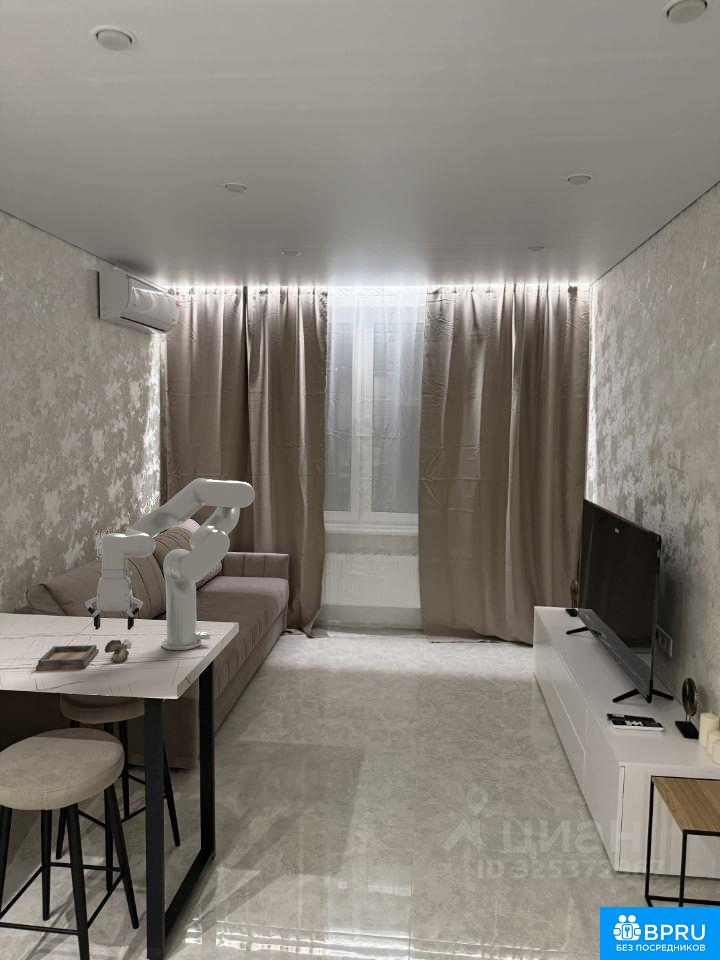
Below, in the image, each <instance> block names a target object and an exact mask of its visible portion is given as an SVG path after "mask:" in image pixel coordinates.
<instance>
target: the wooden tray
mask: <svg viewBox="0 0 720 960" xmlns="http://www.w3.org/2000/svg"><path fill="white" fill-rule="evenodd" d="M99 652H100V651H99V648H97V644H88V645H87V644H85V645H84V644H82V645H53V646H52V647H51V648H50V649H49V650H48V651H47V652H46V653H45V654H44V655H43V656H41V658H39V659H38V660H37V665H36V666H35V671H58V670H60V671H62V670H86V669H87V668H88V666H89V665H90V664H91V663H92V661H94V659H95V658H96V657H97V656H98V654H99ZM90 662H91V663H90Z"/></svg>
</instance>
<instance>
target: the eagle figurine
mask: <svg viewBox="0 0 720 960" xmlns="http://www.w3.org/2000/svg"><path fill="white" fill-rule="evenodd" d="M131 648H132V641H131V640H130V639H124V640H123V642H122V641H121V639H111V640H110V641H109V642H107V644H106V645H105V647H104V652H105V654H107V653H108V654H109V653H112V654H111V658H110V660H112V659H113V660H112V661H111V663H112V664H113V663H114V665H119V664H122V663H124V662H126V661H127V659H128V657H129V655H130V652H129V651H128V649H131Z"/></svg>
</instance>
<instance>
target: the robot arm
mask: <svg viewBox="0 0 720 960" xmlns="http://www.w3.org/2000/svg"><path fill="white" fill-rule="evenodd" d="M255 497H256V492H255V489H254V487H253V486H252V485H251V484H250V483H247V482H246V481H239V480H217V479H209V478H202V477H200V478H199V477H198V478H195V479H194V480H191V482H190V483H188V484H187V485H186V486H184V488H182V489H181V490H180V491H179V492H178V493H176V494H175V495H174V496H173V497H172V498H171V499H169V500H168V501H166V503H164V504H163V505H161V506H159V507H157V508H155V509H154V510H152V511H151V512H149V513H147V514H145V515H144V516H143V517H141V518H140V519H138V520H137V521H136V522H135V523H134V524H133V525H131V526H130V527H129V528H127V530H125V532H124V533H119V532H118V533H117V532H114V533H113V532H112V533H106V534H104V535H103V536H102V538H101V576H100V577H99V580H98V583H97V591H96V596H95V597H92V598H90V599H88V600H86V601H85V602H84V605H85V607H86V609H87V611H88V612H89V613H90V614H91V616H92V617H93V627H94V628H95V630H97V631H98V630H99V629H100V628H101V614H100V613H101V612H126V614H127V615H128V617H127V630H128V631H130V630H131V629H133V627H134V625H135V616H136V615H137V613H139V612H140V611H141V608H142V606H143V604H144V601H142V600H141V599H139V598H136V597H135V596H134V595H133V589H132V588H133V587H132V581H131V580H132V579H131V577H130V576H131V575H133V570H131V569H129V567H128V563H129V562H128V557H133V558H134V557H135V558H146V557H149V556H151V555H152V554H153V552H154V551H155V549H156V546H157V544H156V540H155V539H154V537H155V536H156V535H158V534H159V533H161V532H163V531H166V530H168V529H172V528H176V527H179V526H181V525H183V524H185V523H186V522H187V521H188V520H189V519H190V518H191V517H193V515H194V514H195V513H197V512H198V511H199V510H201V509H202V508H203V507H204V506H208V507H216V508H215V510H214V512H213V513H212V514H211V515H210V516H209V518H207V519H206V520H205V521H204V523H202V524H201V525H200V526H199V527H198V528H197V529H196V530H195V531H194V532H193V533H192V534H191V536H190V539H189V546H190V548H191V550H187V549H184V548H174V549H172V550H170V551H168V553H167V554H166V555H165V557H164V559H163V564H162V567H163V569H162V570H163V575H164V582H165V603H166V604H165V607H166V608H165V609H166V610H165V611H166V639H164V640H163V641H162V643H161V647H162V648H163V649H166V650H170V651H186V650H190V649H195V648H198V647H199V646H201V645H202V643H203V640H204V641H205V640H211V633H208V632H206V631H205V632H201V631H199V630H200V629H199V627H198V628H197V588H196V583H198V582H199V581H201V580H203V579H204V578H205V577H206V576H207V575H208V574H209V573H210V572H211V571H212V570H213V569H214V568H215V567H216V566H217V565H218V564H219V563H220V562H221V561H222V560H223V559H224V557H226V555H227V554H228V551H229V550H230V546H231V541H230V537H229V536H228V535H229V534H230V533H231V532H232V531H233V530H234V529H235V528H236V526H237V524H238V522H239V518H240V513H241V508H247V507H249V506H250V505H251V504H252V503H253V502H254V501H255ZM95 602H96V603H95ZM93 603H95V604H96V605H95V608H94V607H93V605H92V604H93ZM133 603H134V604H135V605H136V607H135V609H133V608H132V607H133Z"/></svg>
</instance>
